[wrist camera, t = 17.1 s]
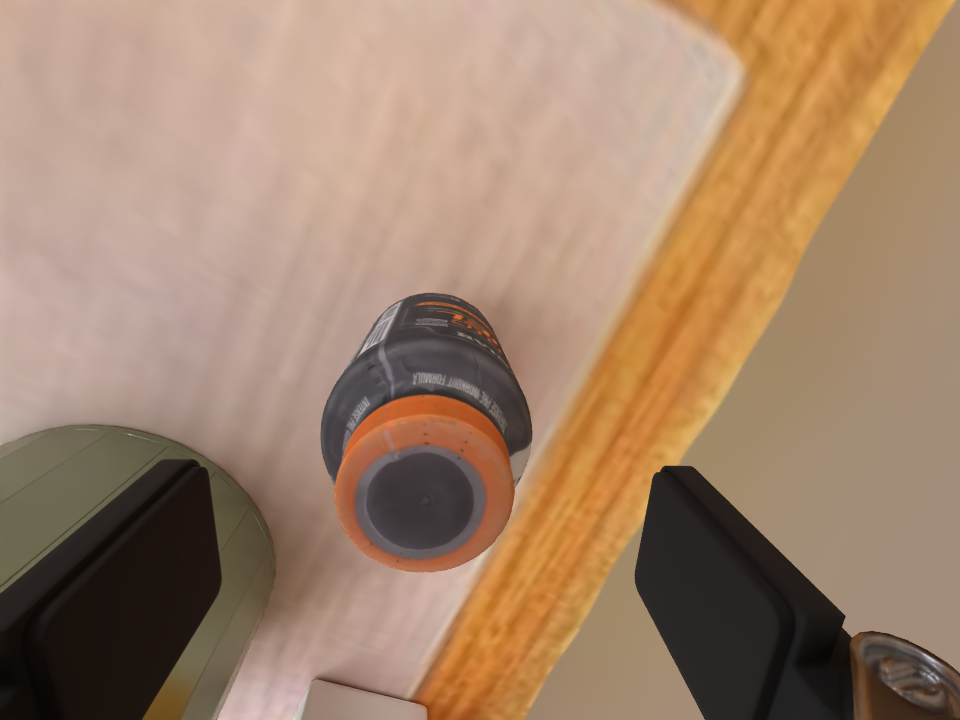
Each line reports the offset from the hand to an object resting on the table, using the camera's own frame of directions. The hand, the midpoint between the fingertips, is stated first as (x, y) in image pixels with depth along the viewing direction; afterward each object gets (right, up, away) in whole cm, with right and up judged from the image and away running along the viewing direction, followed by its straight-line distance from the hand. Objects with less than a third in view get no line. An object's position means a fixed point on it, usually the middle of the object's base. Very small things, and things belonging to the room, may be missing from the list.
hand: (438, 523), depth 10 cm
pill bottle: (-1, +4, +11) cm, 12 cm away
